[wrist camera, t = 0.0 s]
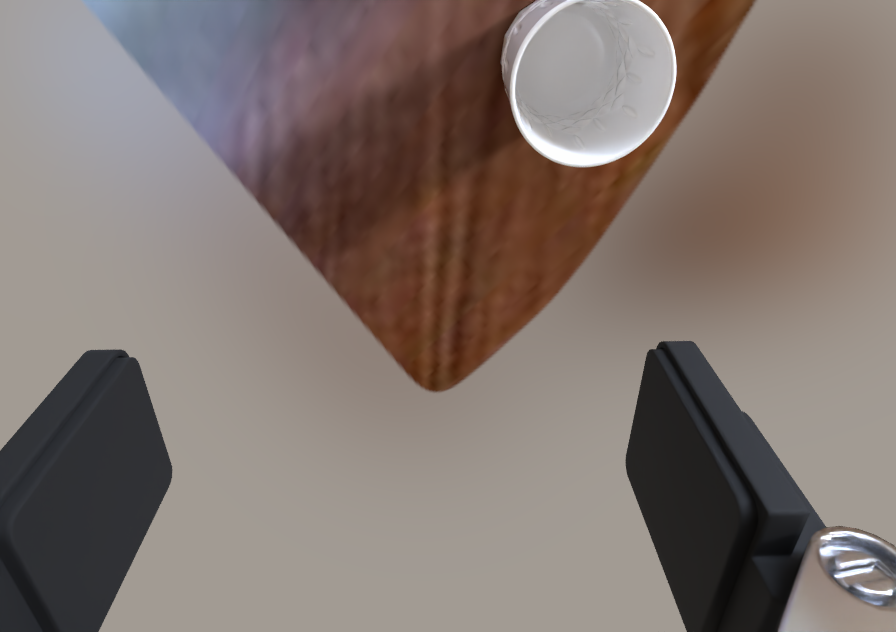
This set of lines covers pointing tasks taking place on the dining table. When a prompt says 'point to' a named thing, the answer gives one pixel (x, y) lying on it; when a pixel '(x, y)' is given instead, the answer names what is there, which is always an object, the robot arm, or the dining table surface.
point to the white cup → (587, 77)
